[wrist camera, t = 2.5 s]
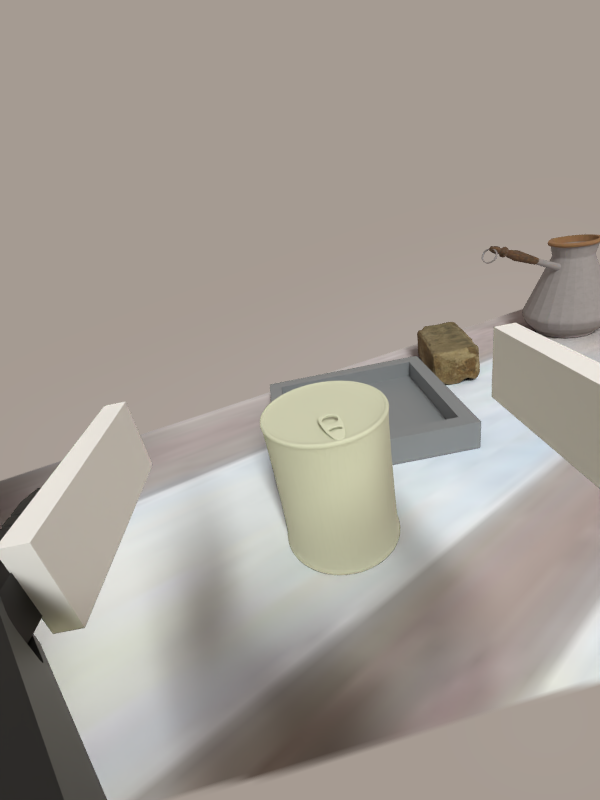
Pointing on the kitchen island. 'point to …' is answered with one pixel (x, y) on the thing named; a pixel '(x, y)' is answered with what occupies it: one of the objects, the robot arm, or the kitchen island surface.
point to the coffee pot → (563, 287)
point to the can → (334, 474)
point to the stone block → (448, 352)
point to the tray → (410, 408)
